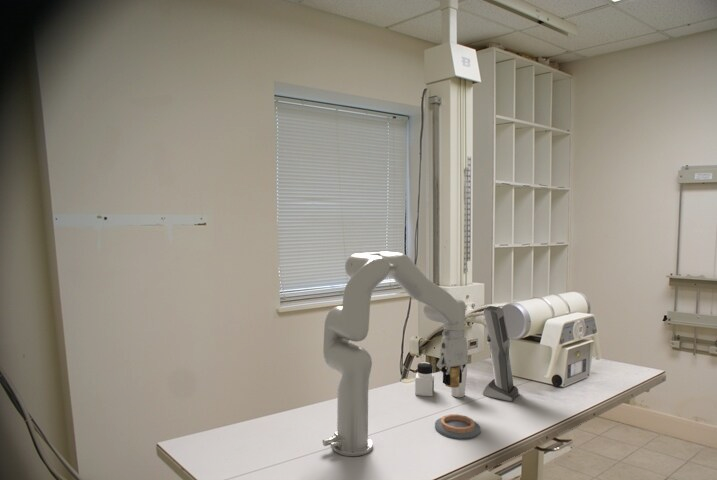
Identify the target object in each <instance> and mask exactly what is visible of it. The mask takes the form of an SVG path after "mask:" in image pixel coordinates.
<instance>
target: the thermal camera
mask: <svg viewBox="0 0 717 480" xmlns="http://www.w3.org/2000/svg"><path fill="white" fill-rule="evenodd" d="M483 316H484V321H485V323H484V324H485V326H486V332H487V336H486V344H488V345H489V346H490V355H491V363H492V370H493V376H494V378H493V379H492V380H491V381H490V382H489V383H488V384H487V385H486V386H485V387H484V389H483V391H482V395H483V396H485V397H488V398H491V399H497V400H502V401H506V402H512V403H513V402H514V400H515V399H516V398H517V396H518V395H519V389H518V387H517V386H515V385H514V379H513V373H512V365H511V358H510V353H509V351H510V347H511V346H510V344H511V343H510V337H509V333H508V328H507V323H506V318H505V313H504V310H503V308H501V307H499V306H493V305H489V306H487V307H486V308H483Z"/></svg>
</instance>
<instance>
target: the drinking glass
mask: <svg viewBox="0 0 717 480" xmlns="http://www.w3.org/2000/svg"><path fill="white" fill-rule="evenodd" d="M463 370H464V371H463V372H462V383H459V387H456V388H452V387H450V389H451V391H450V392H451V396H453V397H455V398H464V397H465V395H466V385H467V375H468V363H467V364H466V366H465V367H464V369H463Z"/></svg>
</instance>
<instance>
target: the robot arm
mask: <svg viewBox="0 0 717 480" xmlns="http://www.w3.org/2000/svg"><path fill="white" fill-rule="evenodd" d="M344 269H345V272H346V274H347V275H348V277H350V278H349V280H348V282H347V283H346V285H345V287H344V291H343V295H342V305H337V306H334V307H332V308H331V309H330V311H329V312H328V313H327V315H326V318H325V321H324V326H323V327H324V329H323V330H324V331H323V351H322V352H323V354H322V355H323V359H324V362H325V364H326V365H327V366H328V367H329V368H331V369H333V370H335V371H337V372H338V373H340V374H341V377H340V381H339V383H338V386H337V392H336V394H337V410H336V411H337V412H336V413H337V419H336V420H337V421H336V426H337V427H336V428H337V430H336V431H334V432H333V435H332V436H331V437H330V438H329V437H327V438H324V439H322V444H323V446H324V447H327V446H330V448H332V450H333V451H334V452H336V453H337V454H339V455H342V456H345V457H359V456H364V455H366V454H368V453H369V452H371V450H372V449H373V448H374V447H373V446H374V442H373V440H372V439H371V438H370V437H369V384H370V383H369V382H370V375H371V371H372V365H373V361H372V359H373V358H372V356H371V355H370V353H369V351H368V350H366V348H365V347H362V346H361V345H357V344H354V343H352V342H355V343H357V342H362V341H364V340H365V339H366V338H367V336H368V335H369V329H370V328H369V327H370V313H371V312H370V311H371V310H370V309H371V301H372V300H371V298H372V295H373V293H374V290H375V289H376V288H377V287H378V285H380V284H381V282H383V281H384V280H385V279H386V278H392V279H393V280H394V281H396V283H397V284H398V285H399V286H400V287H401V288H402V289H403V290H404V292H405V293H406V294H407V295H408V296H409V297H410V298H412V299H414V300H416V301H417V302H420V303H423V304H425V305H424V306H423V314H424V316H425V317H426V319H428V320H430V321H433V322H436V323H442V324H443V331H442V333H441V335H442V338H441V341H440V342H441V343H440V348H439V360H438V361H437V363H436V367H437V368H438V369H439V370H440V371H441V373H442V383H443V384H444V385H445V384H446V385H450V374H449V371H450V367H454V366H460V374H459V383H462V372H463V371H464V370H463V369H464V367H465V366H466V364H467V365H468V363H469V358H468V355H469V354H468V342H467V337H466V336H465V333H466V332H465V326H466V325H465V324H466V302H465V301H464V300H461V299H456V298H454V297H453V295H452V294H451V293H449V292H447V291H446V290H445V289H444V288H442V287H441V286H439V285H438V284H436V283H435V282H433V281H432V280H430V279H429V278H428V277H427V276H426V275H425V274H424V273H423V272H422V271H421V269H420V268H419V267H418V266H417V264H415V263H414V261H413V260H412V259H411V258H410V257H409V256H408V255H407V254H405V253H402V252H393V251H379V252H378V251H377V252H362V253H353V254H351V255H350V256H349V257H348V258H347V259H346V262H345V266H344ZM350 341H351V342H350ZM446 367H447V369H446ZM446 385H445V386H446Z"/></svg>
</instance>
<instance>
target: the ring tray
mask: <svg viewBox="0 0 717 480" xmlns="http://www.w3.org/2000/svg"><path fill="white" fill-rule="evenodd" d="M434 429H435V431H436V432H437V433H439V434H440V435H442V436H444V437H447V438H450V439H454V440H456V439H457V440H470V439H474V438H476V437H478V436H479V435H480V434H481V426H480V424H479V423H478V422H476V421H475V420H473V419H472V418H471V417H469V416H466V415H463V414H457V413H456V414H447V415H444V416H442V417H440V418H437V420H436V421H435V422H434Z"/></svg>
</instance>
